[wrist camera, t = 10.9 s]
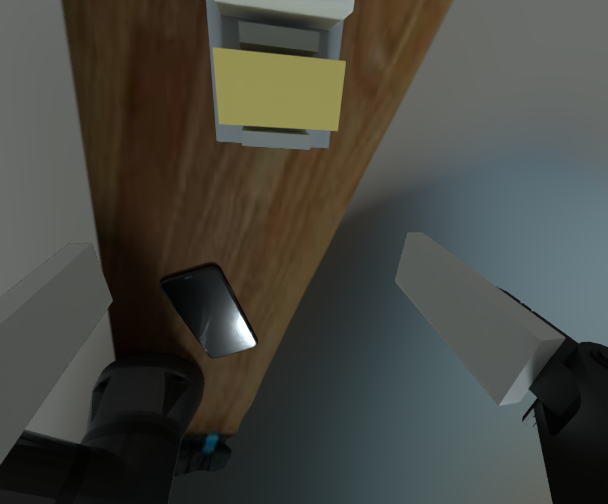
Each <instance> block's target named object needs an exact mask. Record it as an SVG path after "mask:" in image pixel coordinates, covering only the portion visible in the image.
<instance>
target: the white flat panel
mask: <svg viewBox="0 0 608 504" xmlns="http://www.w3.org/2000/svg"><path fill="white" fill-rule="evenodd" d="M214 1H215V4H216V6H217V8H218V11H219V13H220V15H224V16H231V17H239V18H246V19H253V20H260V21H267V22H274V23H281V24H288V25H295V26H302V27H309V28H316V29H323V30H330V31H331V30H332V29H333V28H334V27H336V26H337V25H338V24H339V23H340V22H341V21H343V20H344V19H345V18H346V17H347V16H348V15H349V14H351V13H352V12H353V7H354V0H214Z"/></svg>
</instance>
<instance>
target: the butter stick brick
mask: <svg viewBox="0 0 608 504" xmlns="http://www.w3.org/2000/svg"><path fill="white" fill-rule="evenodd" d="M213 59H214V71H215V83H216V95H217V107H218V119H219V124H226V125H243V126H260V127H277V128H295V129H312V130H329V131H338V124H339V116H340V107H341V99H342V90H343V82H344V73H345V65H346V61H339V60H329V59H320V58H310V57H300V56H291V55H281V54H272V53H262V52H252V51H243V50H233V49H224V48H214V47H213Z"/></svg>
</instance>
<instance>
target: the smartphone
mask: <svg viewBox="0 0 608 504" xmlns="http://www.w3.org/2000/svg"><path fill="white" fill-rule="evenodd" d="M160 288H161V289H162V291H163V292H164V294H165V295H166V297H167V298H168V299H169V301H170V302H171V304H172V305H173V306H174V308H175V309H176V311H177V312H178V313H179V315H180V316H181V318H182V319H183V320H184V322H185V323H186V325H187V326H188V327H189V329H190V330H191V332H192V333H193V335H194V336H195V337H196V339H197V340H198V342H199V343H200V344H201V346H202V347H203V349H204V350H205V351H206V353H207V354H208V355H209V357H211V358H220V357H223V356H227V355H230V354H233V353H237V352H240V351H243V350H247V349H250V348H253V347H255V346H256V345H257V344H258V340H257V338H256V336H255V334H254V332H253V330H252V328H251V326H250V324H249V322H248V320H247V319H246V317H245V315H244V313H243V311H242V309H241V307H240V305H239V303H238V301H237V299H236V298H235V296H234V293H233V291H232V289H231V288H230V286H229V284H228V282H227V280H226V278H225V277H224V275H223V273H222V271H221V269H220V268H219V267H218V266H216V265H207V266H204V267H201V268H197V269H194V270H191V271H187V272H184V273H181V274H177V275H174V276H171V277H167V278H165V279H163V280H162V281H161V282H160Z"/></svg>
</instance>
